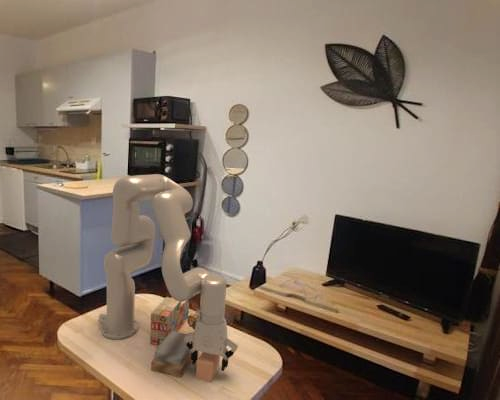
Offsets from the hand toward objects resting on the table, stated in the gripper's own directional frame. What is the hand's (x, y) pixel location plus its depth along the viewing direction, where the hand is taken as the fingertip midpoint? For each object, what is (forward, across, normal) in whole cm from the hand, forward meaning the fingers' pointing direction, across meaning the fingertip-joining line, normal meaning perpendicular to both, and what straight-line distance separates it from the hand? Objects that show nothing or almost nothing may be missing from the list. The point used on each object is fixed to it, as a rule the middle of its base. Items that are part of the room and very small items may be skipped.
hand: (209, 365), depth 106 cm
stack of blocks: (+2, -21, +18) cm, 28 cm away
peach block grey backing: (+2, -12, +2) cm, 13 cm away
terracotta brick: (+3, 0, 0) cm, 3 cm away
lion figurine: (+3, -7, +17) cm, 19 cm away
